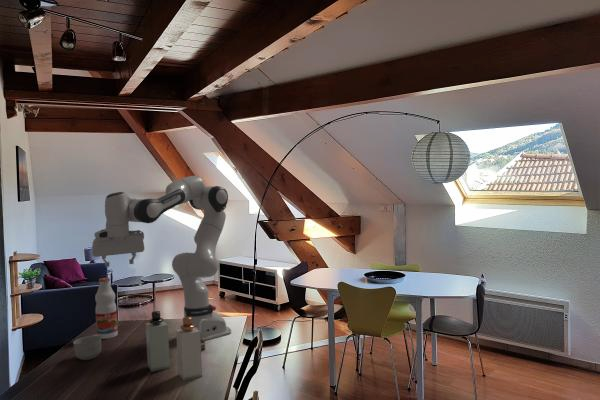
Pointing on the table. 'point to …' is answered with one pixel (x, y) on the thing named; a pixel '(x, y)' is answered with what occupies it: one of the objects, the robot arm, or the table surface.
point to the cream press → (189, 354)
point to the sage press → (157, 346)
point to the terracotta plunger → (187, 324)
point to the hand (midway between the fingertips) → (119, 265)
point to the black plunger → (156, 318)
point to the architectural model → (202, 341)
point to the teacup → (87, 347)
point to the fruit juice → (106, 310)
